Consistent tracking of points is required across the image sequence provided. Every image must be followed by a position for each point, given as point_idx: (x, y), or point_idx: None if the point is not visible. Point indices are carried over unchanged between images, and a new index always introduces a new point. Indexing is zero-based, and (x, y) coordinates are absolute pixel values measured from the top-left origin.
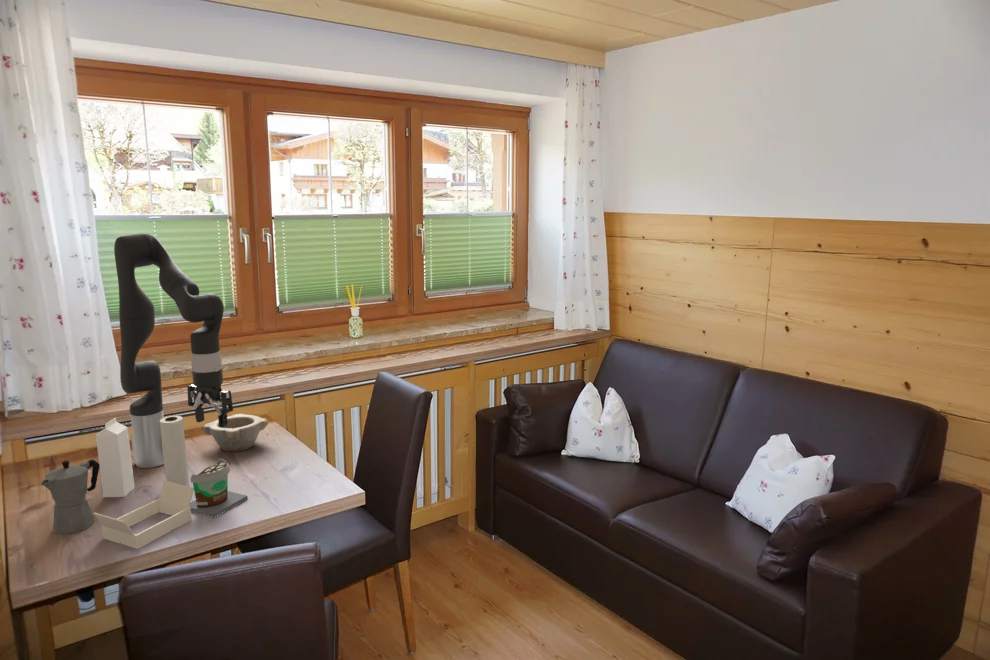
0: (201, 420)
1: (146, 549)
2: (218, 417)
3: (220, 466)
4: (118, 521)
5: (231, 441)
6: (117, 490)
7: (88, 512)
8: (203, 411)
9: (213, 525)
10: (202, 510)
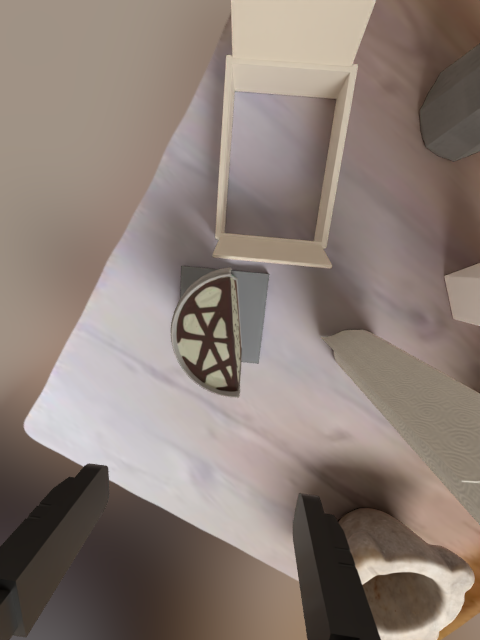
0: (296, 518)
1: (210, 92)
2: (40, 545)
3: (209, 365)
4: None
5: (362, 530)
6: (474, 270)
7: (453, 112)
8: (306, 624)
9: (159, 237)
10: (215, 270)
